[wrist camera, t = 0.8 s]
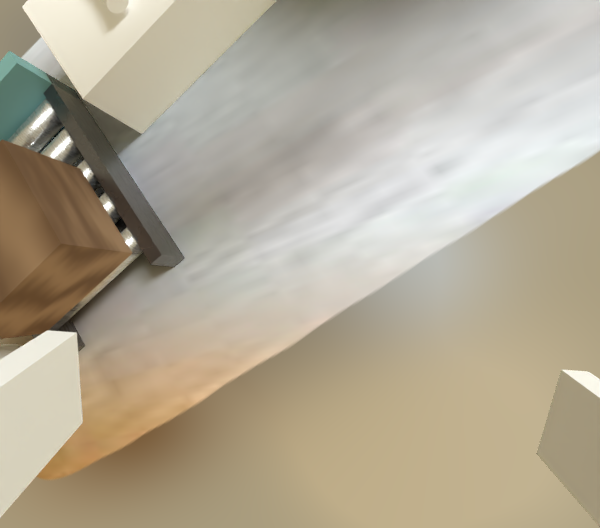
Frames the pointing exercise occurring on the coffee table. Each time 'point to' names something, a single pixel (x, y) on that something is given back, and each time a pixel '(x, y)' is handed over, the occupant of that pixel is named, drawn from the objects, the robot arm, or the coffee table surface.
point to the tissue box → (139, 47)
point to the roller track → (96, 181)
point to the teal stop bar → (20, 92)
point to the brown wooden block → (49, 240)
